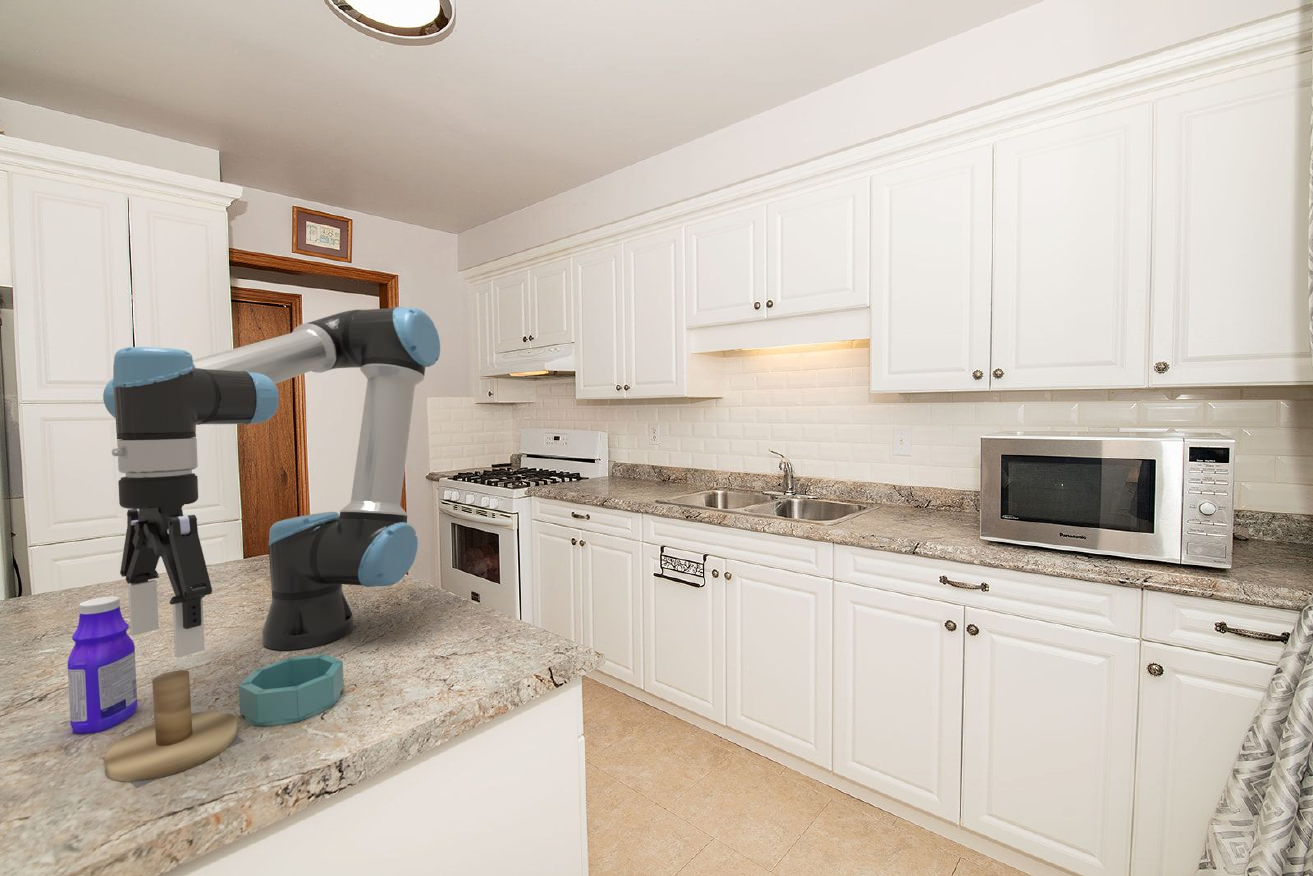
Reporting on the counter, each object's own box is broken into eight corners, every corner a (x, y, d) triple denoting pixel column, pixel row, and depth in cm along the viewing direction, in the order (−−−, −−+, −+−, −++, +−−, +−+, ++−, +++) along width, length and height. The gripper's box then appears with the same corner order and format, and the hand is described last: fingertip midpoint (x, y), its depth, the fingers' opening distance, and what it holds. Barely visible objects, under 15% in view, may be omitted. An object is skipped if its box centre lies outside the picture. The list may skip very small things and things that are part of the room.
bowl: (228, 713, 84) (226, 679, 84) (313, 680, 95) (312, 649, 94) (271, 737, 78) (269, 700, 78) (357, 698, 88) (356, 666, 88)
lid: (89, 760, 73) (84, 685, 72) (211, 712, 84) (207, 647, 83) (129, 795, 66) (124, 713, 66) (256, 739, 77) (253, 668, 77)
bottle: (106, 710, 86) (98, 593, 85) (148, 708, 86) (141, 591, 85) (60, 739, 78) (51, 610, 77) (106, 736, 79) (97, 608, 78)
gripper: (83, 471, 76) (91, 632, 77) (163, 482, 63) (171, 676, 64) (155, 466, 83) (162, 615, 84) (241, 475, 70) (248, 652, 71)
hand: (166, 642), depth 74 cm, fingers open, 13 cm apart
